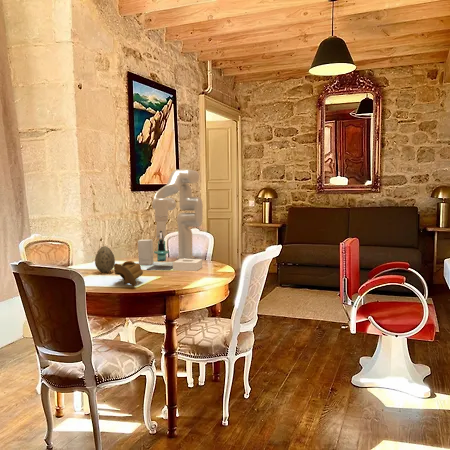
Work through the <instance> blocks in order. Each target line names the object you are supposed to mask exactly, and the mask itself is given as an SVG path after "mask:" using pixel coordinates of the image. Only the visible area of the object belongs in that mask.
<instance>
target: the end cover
mask: <svg viewBox="0 0 450 450" xmlns="http://www.w3.org/2000/svg"><path fill="white" fill-rule="evenodd" d="M153 254H155V255H157V260H156V261H157V262H166V261H167V254H170V250H167V249H166V241H165V240H164V251H159V240H158V241H157V250H153Z"/></svg>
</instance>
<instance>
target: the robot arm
mask: <svg viewBox="0 0 450 450" xmlns="http://www.w3.org/2000/svg"><path fill="white" fill-rule="evenodd" d="M199 179H200V174H199V172H198V171H197V170H193V169H174V170H172V172H171V173H170V175H169V178H168V180H167V183H166V185H164V186H163V187H161V188H160V189H158V190H157V191H156V193H155V194H154V197H153V198H152V203H151V206H152V208H153V210H154V222H155V223H156V227H155V228H156V233H155V234H156V237H155V238H156V239H158V241H159V251H164V241H165V238H166V236H167V235H166V231H167V226H166V225H167V222H169V219H168V218H169V217H168V215H169V211H173V210H175V208H176V207H177V202H176V200H175V199H174V198H172V197H170V196H173V195H175V194H177V193H178V194H179V195H178V197H179V199H178V201H179V202H178V204H179V210H182V211H185V212H179V213H178V214H177V216H176V224H177V233H178V237H177V238H178V239H177V240H178V243H177V244H178V248H177V249H178V250H177V251H178V255H177V256H176V258H175V259H176V260H178V259H196V257H195V255H193V231H192V229H191V227H193V228H194V227H201V226H202V224H203V207H204V206H203V201H202V200H203V199H202V198H201V197H199V196H193V189H192V187H191V185H190V184H197V183H198V182H199ZM188 211H189V212H188ZM190 211H191V212H190Z"/></svg>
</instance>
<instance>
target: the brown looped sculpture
mask: <svg viewBox="0 0 450 450" xmlns="http://www.w3.org/2000/svg"><path fill="white" fill-rule="evenodd" d="M141 266H142V265H140V264H139V262H138V263H136V262H134V261H133V260H127V261H124V262H123V263H122V264H121V263H115V265H114V267H113V269H114V274H115V275H117V276H118V275H119V276H120V277H121V278H122V280H123V282H124V285H127V284H130V285H131V287H135V286H136V285H137V279H138V278H140V277H141V276H143V274H144V271H143V269H142V267H141Z"/></svg>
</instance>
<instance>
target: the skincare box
mask: <svg viewBox="0 0 450 450" xmlns="http://www.w3.org/2000/svg"><path fill="white" fill-rule="evenodd" d="M137 252H138V257H137V258H138V264H140V266H153V264H154V242H153V239H150V238H149V239H139V240H137Z"/></svg>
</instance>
